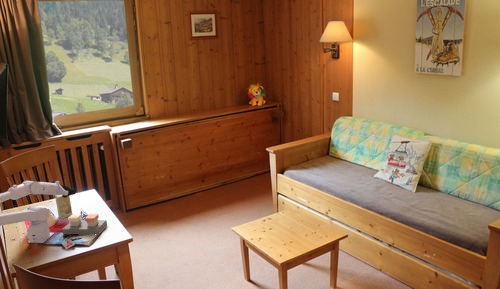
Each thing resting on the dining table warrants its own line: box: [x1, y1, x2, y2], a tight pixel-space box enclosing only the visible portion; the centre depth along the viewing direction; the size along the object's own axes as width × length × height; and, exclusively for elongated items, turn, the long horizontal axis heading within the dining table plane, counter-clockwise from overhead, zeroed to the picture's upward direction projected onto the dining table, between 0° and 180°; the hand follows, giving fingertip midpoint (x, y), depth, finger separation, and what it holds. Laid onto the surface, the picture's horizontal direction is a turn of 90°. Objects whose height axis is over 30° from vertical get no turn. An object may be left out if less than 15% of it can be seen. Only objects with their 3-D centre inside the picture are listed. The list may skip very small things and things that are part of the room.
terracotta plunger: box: [84, 213, 100, 227], centre depth 209 cm, size 5×5×5 cm
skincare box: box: [54, 195, 73, 219], centre depth 227 cm, size 6×4×12 cm
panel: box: [61, 219, 108, 236], centre depth 210 cm, size 10×18×3 cm, turn 82°
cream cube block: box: [67, 213, 83, 227], centre depth 210 cm, size 5×5×5 cm
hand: (69, 190), depth 219 cm, fingers open, 7 cm apart
